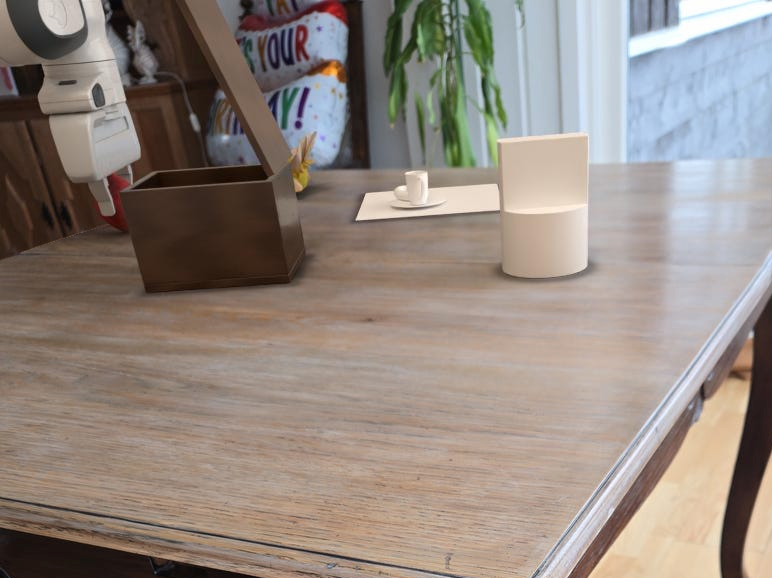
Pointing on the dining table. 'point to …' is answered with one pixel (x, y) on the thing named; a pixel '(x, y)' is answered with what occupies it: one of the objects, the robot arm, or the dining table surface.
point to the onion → (114, 188)
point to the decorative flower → (302, 161)
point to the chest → (214, 227)
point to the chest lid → (237, 82)
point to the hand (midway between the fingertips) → (119, 208)
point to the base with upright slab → (544, 204)
